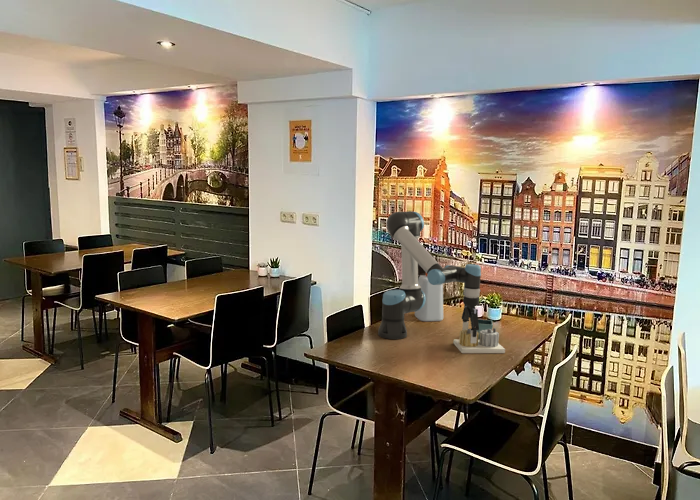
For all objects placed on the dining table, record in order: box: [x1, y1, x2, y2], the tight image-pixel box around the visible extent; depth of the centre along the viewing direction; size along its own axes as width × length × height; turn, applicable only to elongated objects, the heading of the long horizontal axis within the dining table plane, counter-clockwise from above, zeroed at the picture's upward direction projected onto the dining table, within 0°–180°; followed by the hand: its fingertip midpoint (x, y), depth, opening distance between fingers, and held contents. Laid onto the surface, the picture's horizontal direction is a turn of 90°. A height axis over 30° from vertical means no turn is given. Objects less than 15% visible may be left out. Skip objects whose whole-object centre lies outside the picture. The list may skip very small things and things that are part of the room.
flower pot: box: [477, 318, 494, 340], centre depth 273 cm, size 9×9×9 cm
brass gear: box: [458, 330, 479, 347], centre depth 256 cm, size 9×9×6 cm
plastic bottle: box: [414, 272, 444, 322], centre depth 309 cm, size 15×15×28 cm
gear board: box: [453, 327, 506, 354], centre depth 257 cm, size 21×15×10 cm
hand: (469, 338), depth 256 cm, fingers open, 13 cm apart
